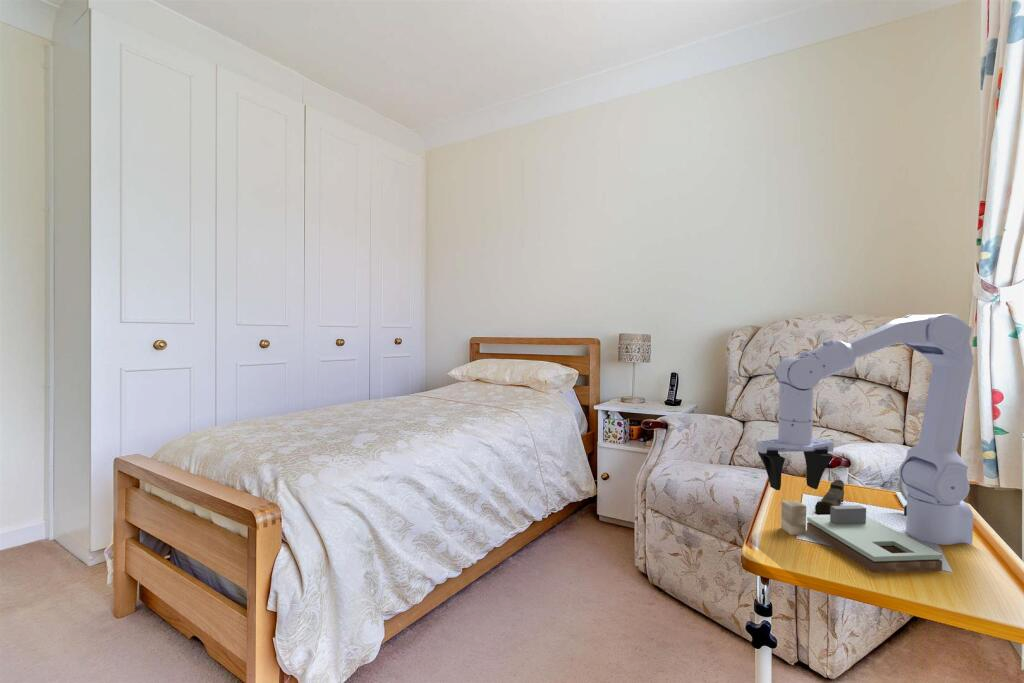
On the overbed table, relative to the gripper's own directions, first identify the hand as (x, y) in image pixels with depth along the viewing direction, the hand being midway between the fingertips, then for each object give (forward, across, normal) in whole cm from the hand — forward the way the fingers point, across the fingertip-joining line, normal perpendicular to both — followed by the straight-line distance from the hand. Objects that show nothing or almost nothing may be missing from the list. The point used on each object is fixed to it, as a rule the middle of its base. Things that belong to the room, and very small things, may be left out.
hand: (793, 487), depth 94 cm
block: (+10, 0, 0) cm, 10 cm away
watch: (+10, +33, +6) cm, 35 cm away
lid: (+7, +9, -8) cm, 14 cm away
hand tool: (+10, +20, +15) cm, 27 cm away
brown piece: (+10, +9, -8) cm, 16 cm away
